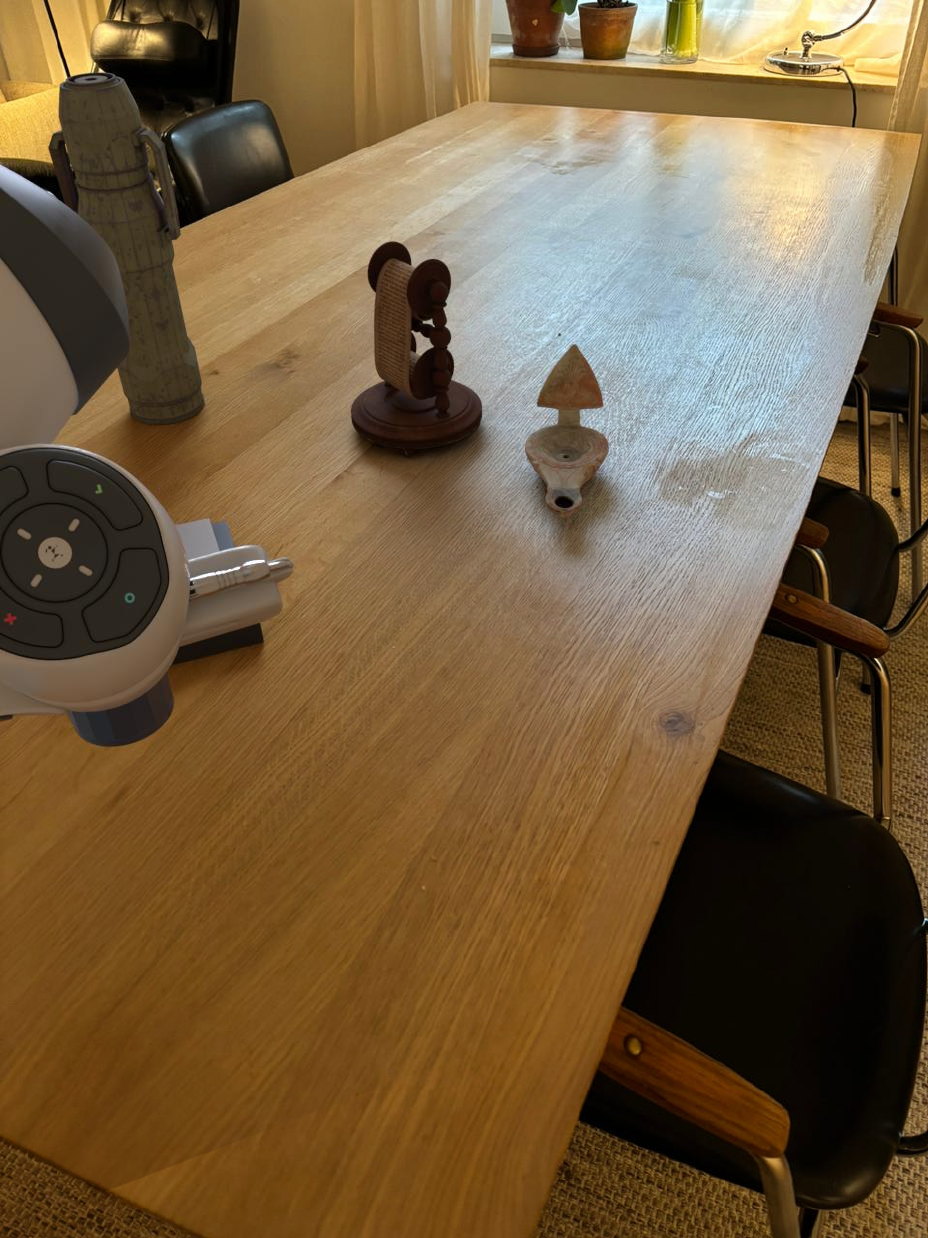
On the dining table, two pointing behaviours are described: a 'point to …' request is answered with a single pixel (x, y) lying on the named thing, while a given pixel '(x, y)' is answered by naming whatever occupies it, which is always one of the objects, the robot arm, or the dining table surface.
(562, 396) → the oil lamp
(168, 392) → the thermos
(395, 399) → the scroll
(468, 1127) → the dining table surface
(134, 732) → the cup
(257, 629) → the scale
